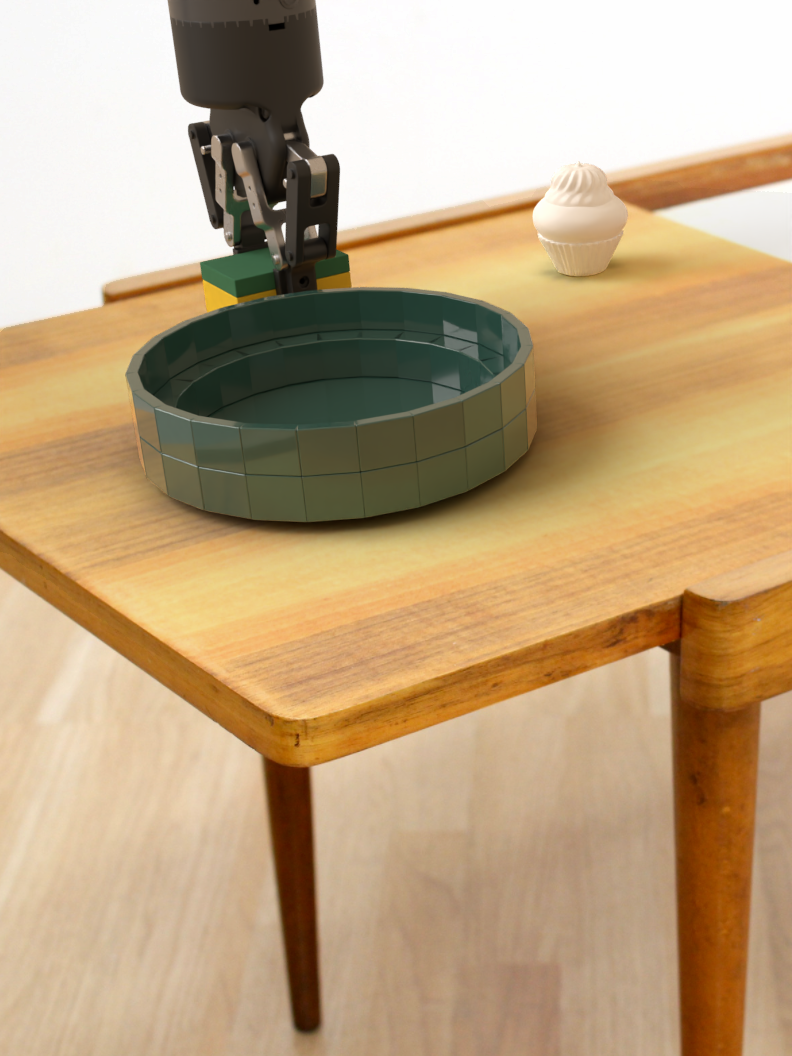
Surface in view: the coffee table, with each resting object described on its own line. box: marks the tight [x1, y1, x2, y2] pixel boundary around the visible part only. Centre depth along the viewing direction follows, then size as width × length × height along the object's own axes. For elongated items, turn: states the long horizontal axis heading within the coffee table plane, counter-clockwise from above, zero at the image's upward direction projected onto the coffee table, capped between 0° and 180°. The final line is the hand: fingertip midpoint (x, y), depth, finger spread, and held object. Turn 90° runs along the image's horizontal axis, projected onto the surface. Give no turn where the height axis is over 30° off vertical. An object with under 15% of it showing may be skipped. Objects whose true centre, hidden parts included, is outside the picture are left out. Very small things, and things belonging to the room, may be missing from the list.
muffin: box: [532, 160, 629, 277], centre depth 99 cm, size 6×6×7 cm
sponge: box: [199, 247, 353, 313], centre depth 87 cm, size 7×4×4 cm, turn 125°
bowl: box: [125, 286, 538, 523], centre depth 75 cm, size 19×19×5 cm
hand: (280, 317), depth 88 cm, fingers closed on sponge, 4 cm apart
